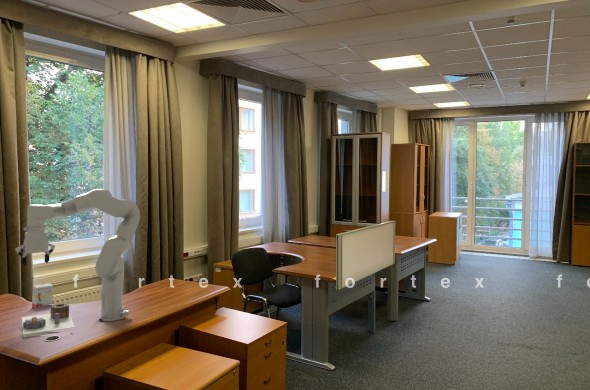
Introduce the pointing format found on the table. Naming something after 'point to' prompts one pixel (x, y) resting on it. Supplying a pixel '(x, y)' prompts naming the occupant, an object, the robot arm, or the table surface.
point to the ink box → (42, 295)
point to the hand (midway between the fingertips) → (35, 263)
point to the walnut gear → (60, 310)
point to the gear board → (44, 324)
